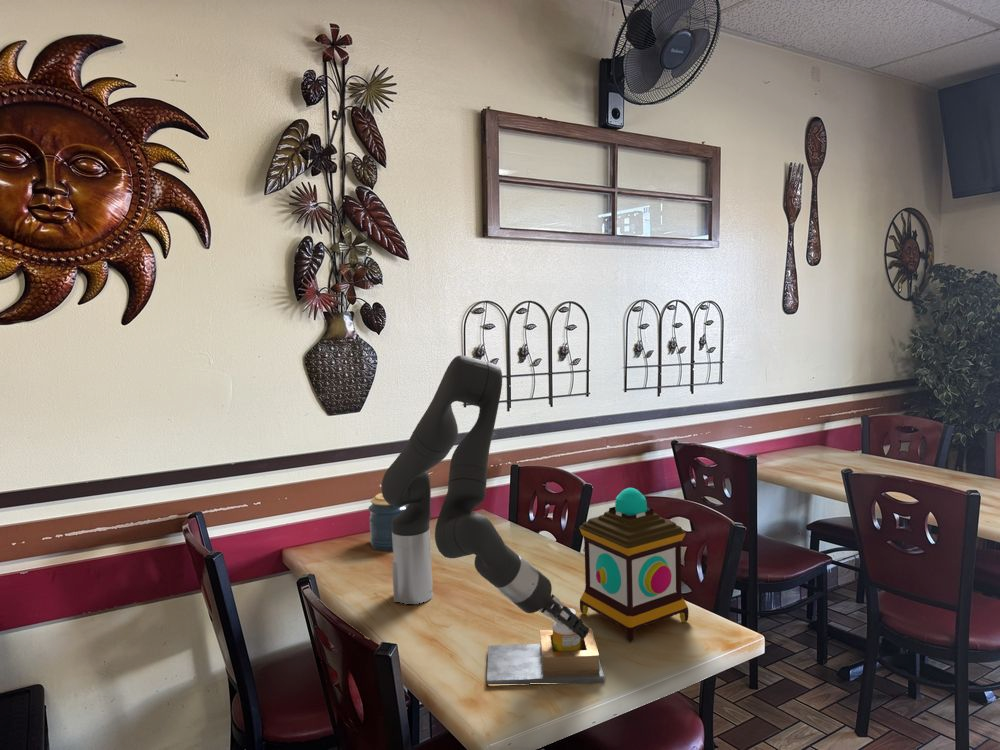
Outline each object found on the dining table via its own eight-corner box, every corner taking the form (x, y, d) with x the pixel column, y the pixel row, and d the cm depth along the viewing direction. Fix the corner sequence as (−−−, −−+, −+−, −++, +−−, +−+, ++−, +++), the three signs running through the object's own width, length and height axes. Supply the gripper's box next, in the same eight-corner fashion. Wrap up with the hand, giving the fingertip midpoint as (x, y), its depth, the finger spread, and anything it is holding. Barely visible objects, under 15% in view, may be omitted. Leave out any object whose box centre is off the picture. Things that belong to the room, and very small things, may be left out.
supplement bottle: (551, 653, 133) (550, 606, 132) (577, 651, 134) (576, 604, 133) (555, 667, 128) (554, 618, 127) (582, 665, 128) (582, 617, 127)
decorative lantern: (571, 612, 153) (567, 485, 150) (636, 591, 163) (633, 472, 160) (629, 649, 136) (626, 506, 133) (698, 623, 146) (696, 489, 143)
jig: (487, 686, 124) (486, 662, 124) (488, 651, 137) (487, 629, 137) (604, 682, 124) (603, 658, 124) (594, 647, 137) (594, 625, 137)
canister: (368, 540, 208) (365, 485, 206) (409, 534, 212) (406, 480, 210) (373, 554, 196) (369, 495, 194) (416, 547, 200) (413, 490, 198)
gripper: (554, 578, 119) (607, 623, 126) (513, 554, 131) (563, 596, 138) (530, 615, 117) (586, 658, 124) (491, 587, 129) (543, 628, 136)
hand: (574, 626), depth 131 cm, fingers open, 7 cm apart
